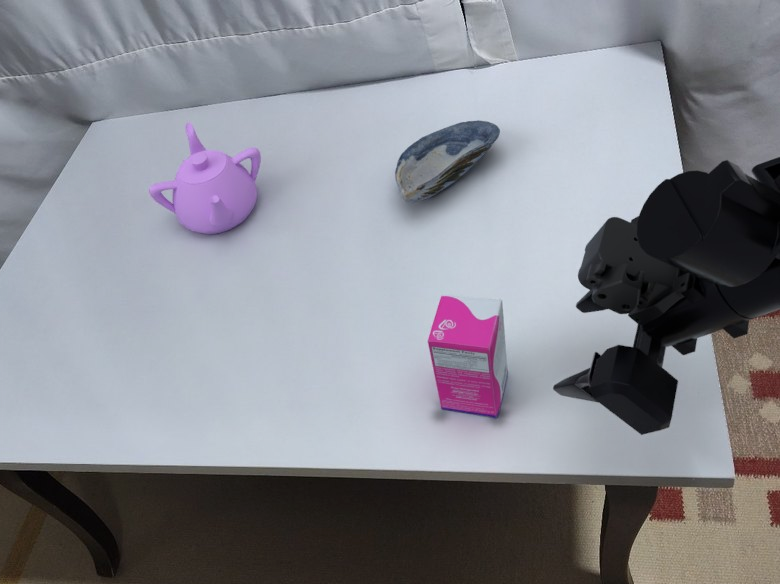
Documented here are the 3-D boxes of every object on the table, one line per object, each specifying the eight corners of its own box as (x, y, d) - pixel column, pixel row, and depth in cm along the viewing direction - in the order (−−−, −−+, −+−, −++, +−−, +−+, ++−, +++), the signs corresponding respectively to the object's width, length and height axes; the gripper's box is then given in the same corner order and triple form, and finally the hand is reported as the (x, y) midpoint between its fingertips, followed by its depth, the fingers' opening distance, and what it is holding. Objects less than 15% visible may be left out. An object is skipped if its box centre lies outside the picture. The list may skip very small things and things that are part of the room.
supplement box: (451, 364, 79) (441, 291, 70) (509, 372, 76) (506, 297, 67) (437, 410, 76) (426, 340, 67) (498, 420, 73) (494, 348, 64)
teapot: (208, 172, 108) (186, 120, 101) (286, 192, 102) (269, 138, 95) (157, 227, 103) (131, 177, 96) (236, 252, 97) (214, 199, 90)
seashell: (500, 217, 90) (499, 185, 86) (395, 224, 93) (389, 193, 89) (500, 135, 98) (499, 103, 94) (404, 144, 102) (399, 113, 98)
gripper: (679, 124, 55) (527, 219, 68) (636, 316, 46) (470, 383, 59) (776, 214, 58) (612, 289, 71) (754, 413, 49) (570, 457, 62)
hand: (568, 348), depth 66 cm, fingers open, 9 cm apart
